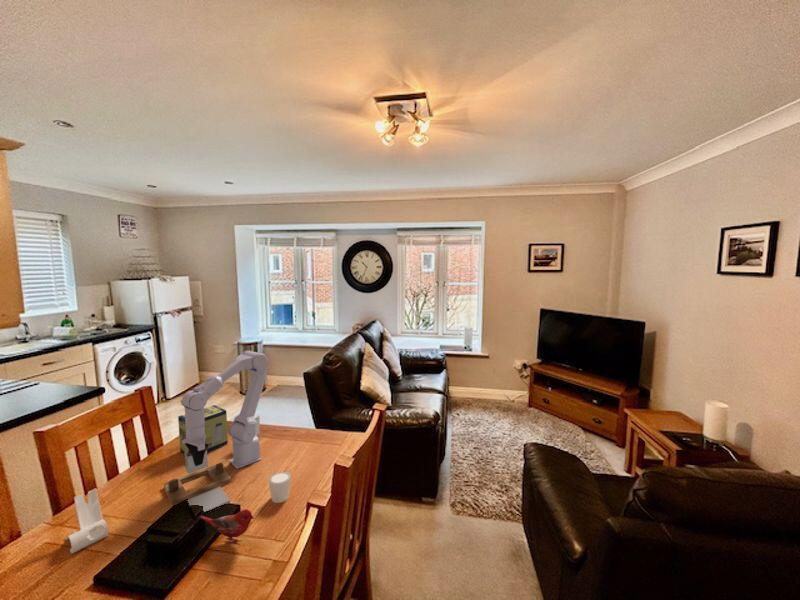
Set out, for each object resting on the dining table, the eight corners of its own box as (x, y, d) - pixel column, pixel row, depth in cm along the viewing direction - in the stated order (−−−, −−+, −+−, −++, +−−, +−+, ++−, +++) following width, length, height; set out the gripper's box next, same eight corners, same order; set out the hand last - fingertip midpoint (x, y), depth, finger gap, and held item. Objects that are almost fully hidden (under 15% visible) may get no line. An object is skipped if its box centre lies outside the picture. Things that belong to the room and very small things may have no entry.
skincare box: (252, 447, 145) (251, 420, 144) (243, 446, 145) (242, 419, 144) (260, 440, 151) (259, 415, 150) (252, 439, 151) (251, 414, 150)
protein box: (179, 451, 141) (177, 416, 140) (216, 437, 154) (215, 404, 153) (190, 459, 135) (188, 422, 134) (228, 443, 148) (227, 409, 147)
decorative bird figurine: (252, 549, 91) (250, 514, 91) (195, 540, 94) (193, 506, 94) (258, 540, 94) (257, 507, 93) (203, 532, 97) (201, 499, 96)
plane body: (219, 466, 130) (219, 455, 130) (231, 481, 121) (230, 469, 120) (163, 487, 117) (163, 475, 117) (172, 505, 108) (171, 492, 108)
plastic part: (72, 556, 89) (69, 515, 88) (63, 539, 95) (60, 500, 94) (108, 538, 95) (106, 499, 94) (98, 523, 101) (95, 486, 100)
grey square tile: (220, 488, 117) (220, 486, 117) (230, 502, 110) (230, 500, 110) (187, 502, 110) (187, 499, 110) (195, 518, 103) (195, 515, 103)
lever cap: (204, 462, 122) (203, 446, 122) (207, 466, 119) (206, 450, 119) (185, 468, 118) (184, 452, 117) (188, 473, 115) (187, 457, 114)
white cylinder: (295, 493, 115) (294, 473, 114) (282, 506, 108) (281, 485, 108) (278, 488, 117) (278, 469, 116) (264, 501, 110) (264, 481, 110)
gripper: (177, 422, 120) (179, 458, 121) (187, 436, 109) (189, 475, 111) (199, 416, 125) (201, 451, 126) (211, 429, 114) (212, 467, 115)
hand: (197, 462), depth 118 cm, fingers closed on lever cap, 4 cm apart
